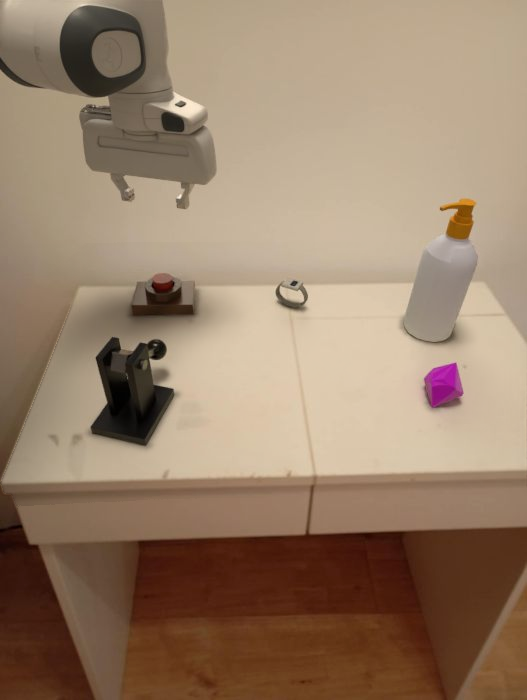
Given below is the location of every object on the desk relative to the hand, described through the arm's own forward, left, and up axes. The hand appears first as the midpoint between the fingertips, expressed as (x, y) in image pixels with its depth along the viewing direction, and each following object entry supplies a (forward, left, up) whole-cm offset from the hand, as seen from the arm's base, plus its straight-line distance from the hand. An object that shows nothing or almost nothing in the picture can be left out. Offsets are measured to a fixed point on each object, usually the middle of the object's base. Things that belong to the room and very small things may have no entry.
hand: (155, 203), depth 75 cm
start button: (-1, +1, -16) cm, 16 cm away
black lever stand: (+6, -26, -20) cm, 33 cm away
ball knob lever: (+6, -22, -14) cm, 27 cm away
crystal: (+49, -10, -20) cm, 54 cm away
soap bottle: (+47, +7, -20) cm, 52 cm away
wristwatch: (+22, +7, -20) cm, 31 cm away
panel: (-1, +1, -20) cm, 20 cm away
